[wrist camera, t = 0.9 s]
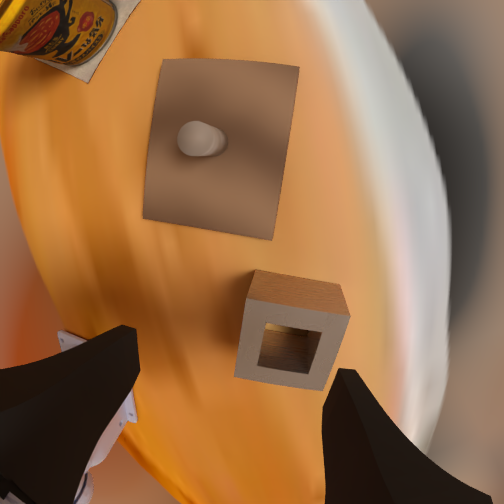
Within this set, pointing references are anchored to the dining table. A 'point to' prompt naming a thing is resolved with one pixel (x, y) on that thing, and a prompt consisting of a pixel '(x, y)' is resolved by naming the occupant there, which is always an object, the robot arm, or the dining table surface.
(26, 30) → the condiment
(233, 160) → the block
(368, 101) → the dining table surface
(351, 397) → the robot arm
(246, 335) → the block with square hole
